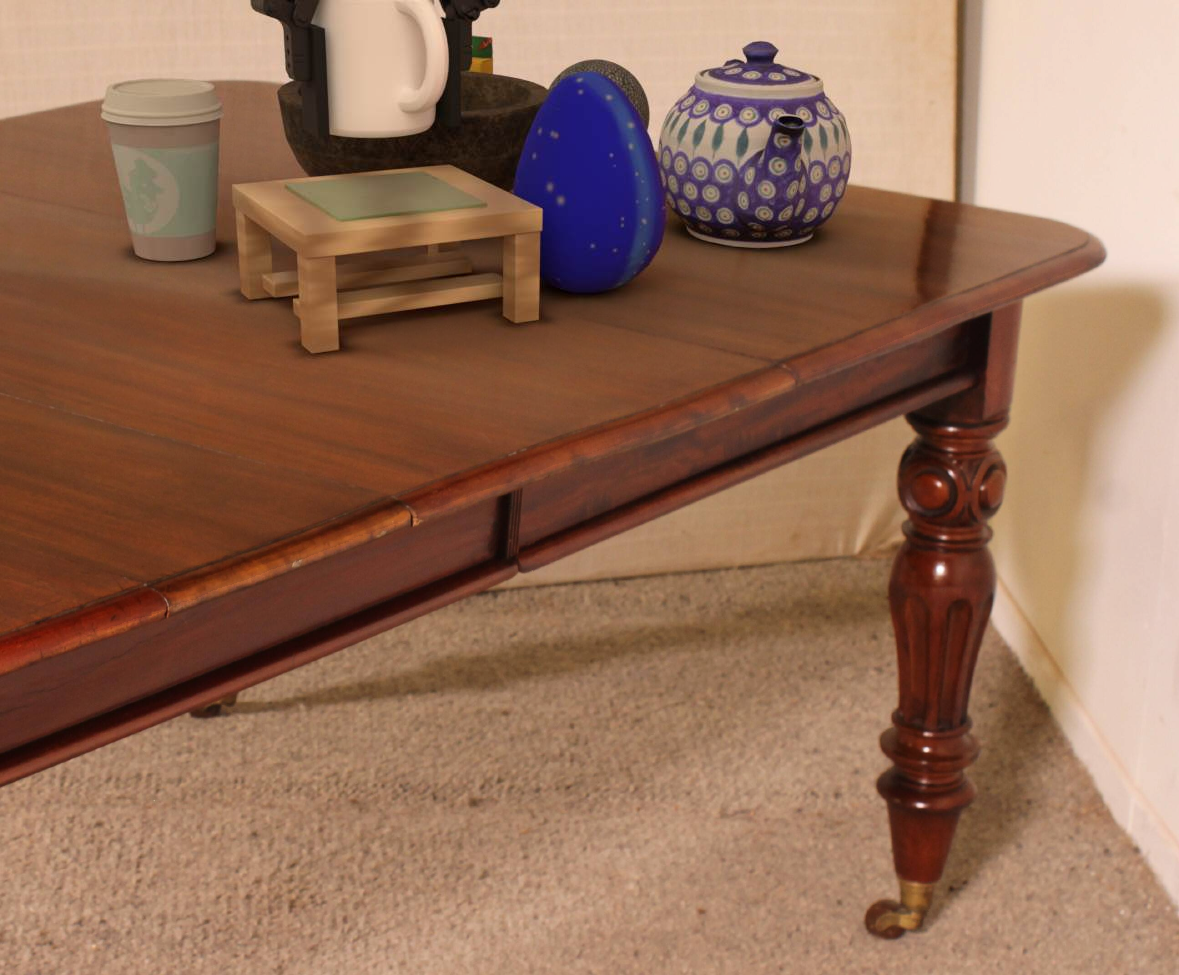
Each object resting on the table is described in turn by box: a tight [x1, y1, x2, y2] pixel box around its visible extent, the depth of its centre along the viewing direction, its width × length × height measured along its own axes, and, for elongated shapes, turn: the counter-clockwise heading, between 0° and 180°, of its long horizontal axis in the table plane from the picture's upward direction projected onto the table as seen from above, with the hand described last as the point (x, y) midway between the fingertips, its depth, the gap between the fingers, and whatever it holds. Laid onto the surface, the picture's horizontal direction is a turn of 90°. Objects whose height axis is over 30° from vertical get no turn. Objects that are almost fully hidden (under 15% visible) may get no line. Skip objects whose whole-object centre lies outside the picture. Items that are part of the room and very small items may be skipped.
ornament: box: [512, 71, 667, 294], centre depth 102 cm, size 11×9×15 cm
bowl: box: [276, 71, 550, 193], centre depth 121 cm, size 22×22×10 cm
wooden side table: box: [231, 165, 543, 354], centre depth 99 cm, size 16×14×8 cm
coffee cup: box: [100, 77, 225, 262], centre depth 109 cm, size 8×8×12 cm
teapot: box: [657, 40, 853, 249], centre depth 118 cm, size 25×15×15 cm, turn 3°
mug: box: [311, 0, 449, 138], centre depth 94 cm, size 12×8×10 cm
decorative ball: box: [547, 58, 651, 131], centre depth 138 cm, size 10×10×10 cm
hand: (383, 127), depth 95 cm, fingers closed on mug, 8 cm apart
